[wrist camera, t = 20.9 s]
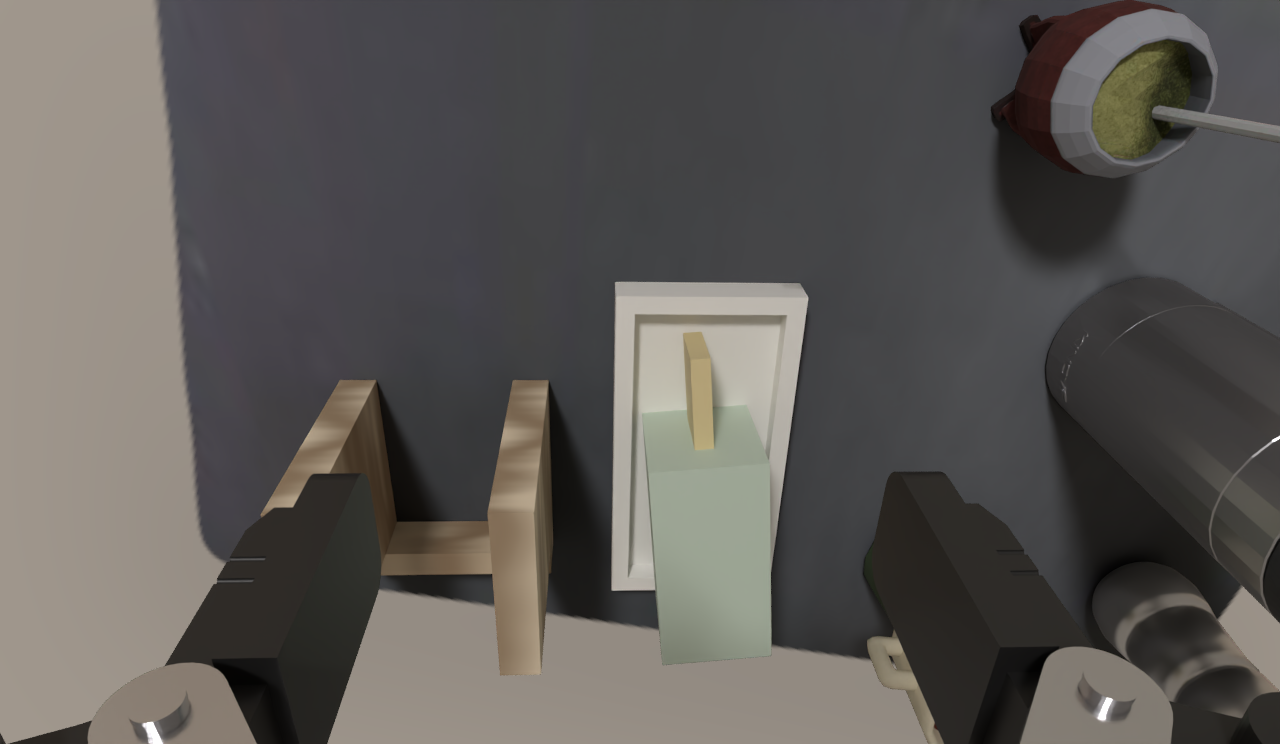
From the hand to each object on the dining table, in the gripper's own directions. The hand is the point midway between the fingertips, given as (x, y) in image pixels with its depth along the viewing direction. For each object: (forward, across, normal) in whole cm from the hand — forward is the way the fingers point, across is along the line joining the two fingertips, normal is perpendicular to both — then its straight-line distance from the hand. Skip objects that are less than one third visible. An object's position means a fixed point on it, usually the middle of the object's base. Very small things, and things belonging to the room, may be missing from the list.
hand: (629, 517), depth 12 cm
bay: (+30, +9, +20) cm, 37 cm away
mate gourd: (+30, -22, -3) cm, 38 cm away
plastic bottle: (+30, -36, +30) cm, 56 cm away
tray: (+30, -6, +18) cm, 36 cm away
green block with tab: (+29, -5, +19) cm, 35 cm away
